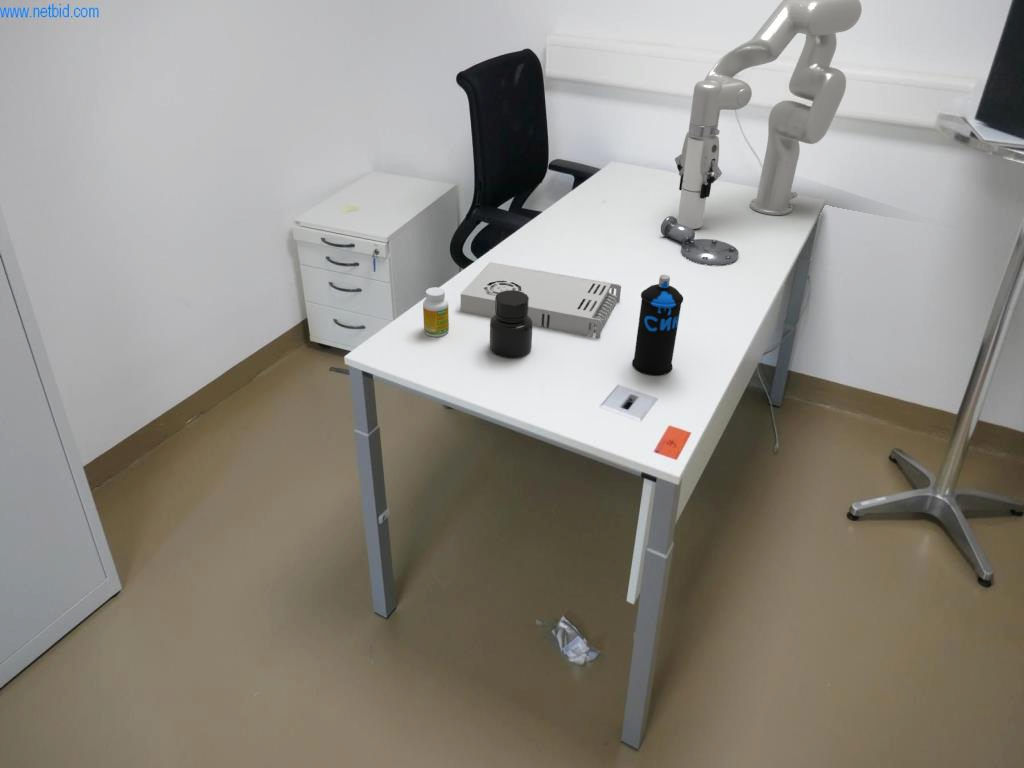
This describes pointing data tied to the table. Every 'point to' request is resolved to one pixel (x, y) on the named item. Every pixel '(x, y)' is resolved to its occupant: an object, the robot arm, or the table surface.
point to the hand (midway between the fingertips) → (694, 192)
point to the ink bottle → (511, 325)
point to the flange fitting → (699, 245)
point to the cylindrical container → (692, 187)
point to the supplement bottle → (435, 312)
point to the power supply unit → (545, 297)
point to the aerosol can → (657, 328)
